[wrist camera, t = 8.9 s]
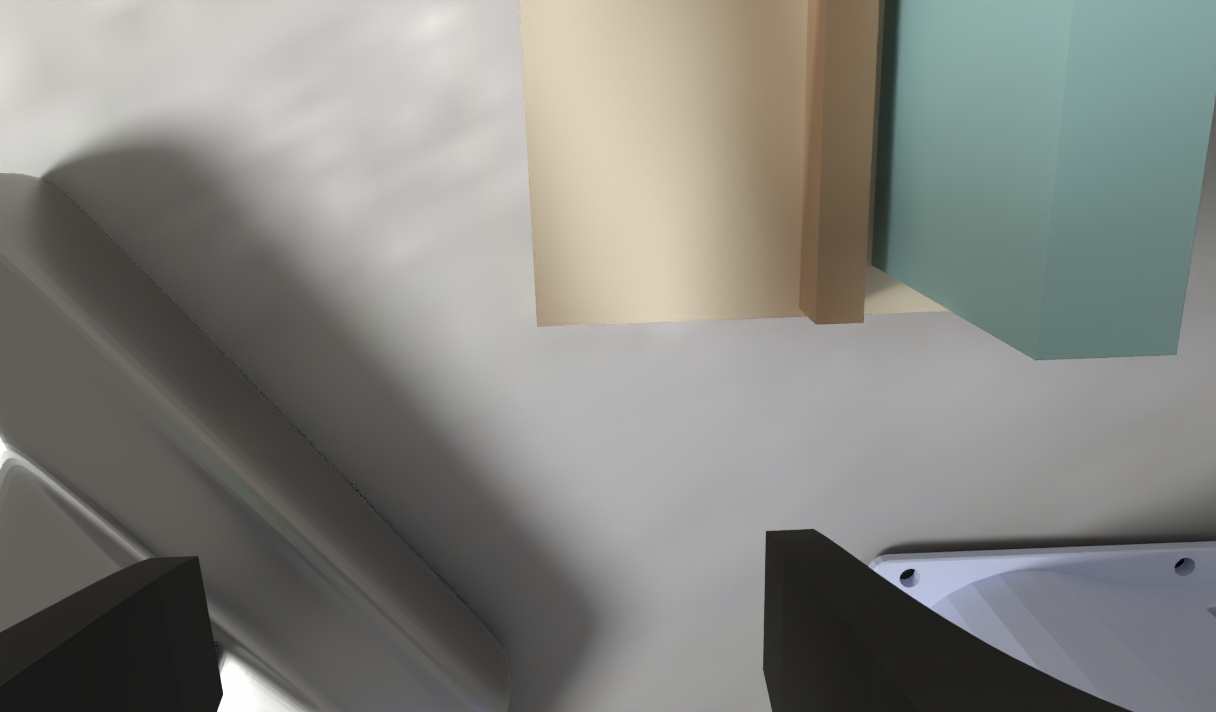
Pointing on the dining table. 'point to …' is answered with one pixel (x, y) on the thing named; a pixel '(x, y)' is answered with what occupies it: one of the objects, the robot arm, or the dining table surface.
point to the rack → (705, 160)
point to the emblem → (201, 490)
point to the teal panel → (1046, 165)
